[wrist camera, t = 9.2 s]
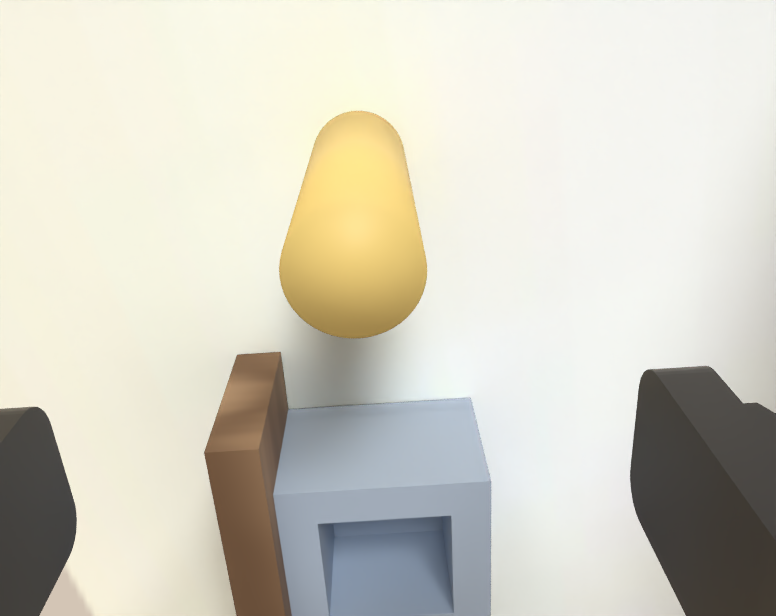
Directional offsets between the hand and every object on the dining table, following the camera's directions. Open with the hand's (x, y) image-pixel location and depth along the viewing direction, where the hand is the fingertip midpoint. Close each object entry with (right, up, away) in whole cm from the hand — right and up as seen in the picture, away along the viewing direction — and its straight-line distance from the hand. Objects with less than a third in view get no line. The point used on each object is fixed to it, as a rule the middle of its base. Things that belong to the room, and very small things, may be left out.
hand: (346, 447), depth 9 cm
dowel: (0, +7, +14) cm, 16 cm away
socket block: (0, -5, +20) cm, 21 cm away
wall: (-4, -5, +20) cm, 21 cm away
